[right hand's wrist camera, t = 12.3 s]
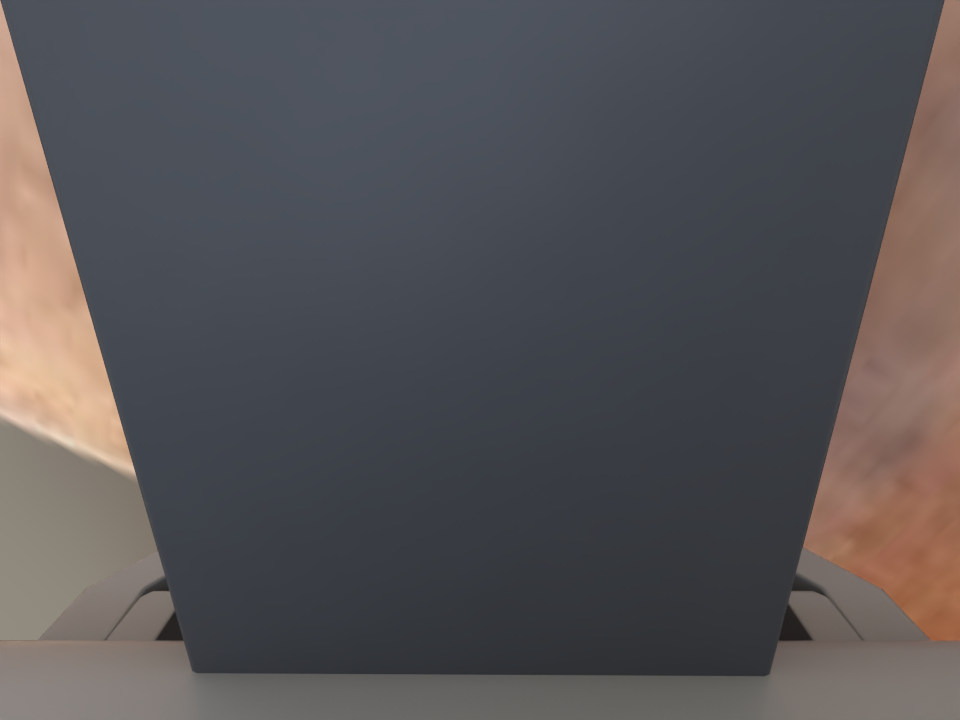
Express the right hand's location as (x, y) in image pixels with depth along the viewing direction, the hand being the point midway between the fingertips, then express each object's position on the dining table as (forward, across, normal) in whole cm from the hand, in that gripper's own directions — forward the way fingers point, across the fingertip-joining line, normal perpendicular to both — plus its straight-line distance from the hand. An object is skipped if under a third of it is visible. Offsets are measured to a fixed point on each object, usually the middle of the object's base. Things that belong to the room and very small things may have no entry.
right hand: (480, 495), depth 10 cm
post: (+4, 0, -20) cm, 21 cm away
